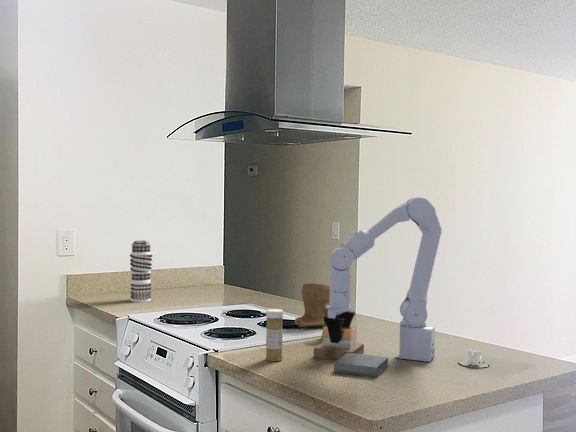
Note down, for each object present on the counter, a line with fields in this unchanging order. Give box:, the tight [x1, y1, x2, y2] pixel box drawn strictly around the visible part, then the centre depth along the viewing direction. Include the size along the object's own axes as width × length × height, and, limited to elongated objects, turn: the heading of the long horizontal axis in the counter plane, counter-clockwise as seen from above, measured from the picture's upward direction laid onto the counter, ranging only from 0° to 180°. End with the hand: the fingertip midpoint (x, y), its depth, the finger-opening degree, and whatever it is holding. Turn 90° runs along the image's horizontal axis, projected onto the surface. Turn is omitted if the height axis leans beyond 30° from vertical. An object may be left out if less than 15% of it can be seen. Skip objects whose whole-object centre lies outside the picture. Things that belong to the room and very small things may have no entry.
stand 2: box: [333, 353, 389, 378], centre depth 159 cm, size 11×11×2 cm
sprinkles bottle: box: [265, 308, 284, 362], centre depth 167 cm, size 5×5×13 cm
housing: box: [322, 326, 357, 349], centre depth 174 cm, size 8×5×5 cm, turn 67°
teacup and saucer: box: [467, 348, 483, 366], centre depth 166 cm, size 9×8×4 cm
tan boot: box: [294, 282, 330, 329], centre depth 214 cm, size 15×12×15 cm
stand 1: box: [313, 342, 365, 361], centre depth 174 cm, size 11×11×2 cm
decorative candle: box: [129, 240, 153, 303], centre depth 262 cm, size 9×9×25 cm
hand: (339, 339), depth 174 cm, fingers open, 7 cm apart
